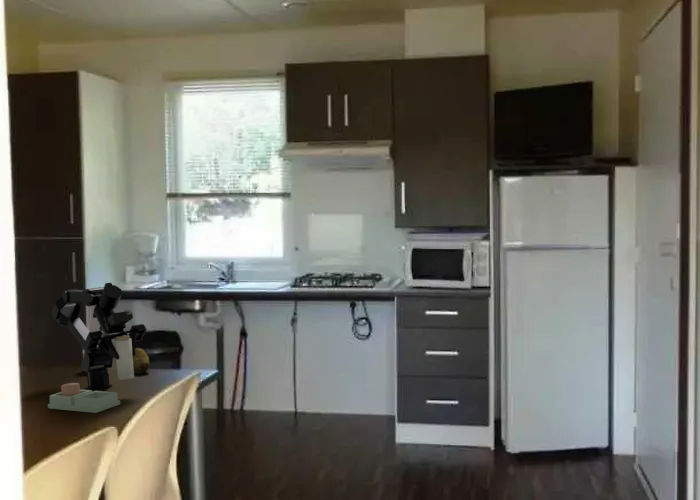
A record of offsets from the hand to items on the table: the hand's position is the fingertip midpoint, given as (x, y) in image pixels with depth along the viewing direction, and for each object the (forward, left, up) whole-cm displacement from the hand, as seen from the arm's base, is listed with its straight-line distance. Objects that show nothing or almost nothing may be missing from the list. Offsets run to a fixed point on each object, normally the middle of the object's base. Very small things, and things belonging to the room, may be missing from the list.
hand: (126, 357), depth 251 cm
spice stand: (-6, -13, -12) cm, 19 cm away
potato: (-24, +32, -13) cm, 41 cm away
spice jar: (-1, +1, -7) cm, 7 cm away
